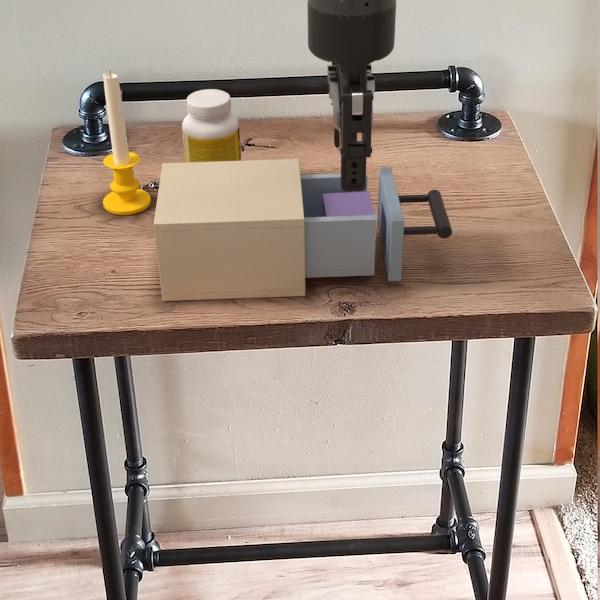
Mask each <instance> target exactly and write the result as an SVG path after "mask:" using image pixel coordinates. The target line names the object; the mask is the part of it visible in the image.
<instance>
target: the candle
mask: <svg viewBox="0 0 600 600" xmlns="http://www.w3.org/2000/svg"><path fill="white" fill-rule="evenodd" d="M102 76H103V88H104V96H105V104H106V112H107V119H108V128H109V135H110V142H111V150H112V153H111V154H108V155H106V156H105V157H104V159H103V161H102V163H103V165H104V167H106V168H109V169H112V177H113V180H112V181H111V182H110V184H109V188H110V192H109V193H107V194H106V195H105V197H104V198H103V200H102V205H103V209H104V210H105V211H106V212H108V213H110V214H113V215H116V216H131V215H135V214H138V213H142V212H144V211H145V210H147V209H148V208H149V207H150V205H151V202H152V197H151V194H150V193H149V192H148V191H146V190H144V189H142V188H140V187H141V183H140V180H139V179H137V178H135V172H134V169H133V167H135V166H136V165H138V164H139V163H140V161H141V158H140V155H138V154H137V153H136V152H132V151H130V150H129V144H128V136H127V129H126V127H127V126H126V121H125V114H124V107H123V100H122V99H123V98H122V91H121V85H120V81H119V76H118V75H117V74H116V73H112V72H111V69H109V72H106V73H103V74H102Z"/></svg>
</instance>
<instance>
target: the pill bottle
mask: <svg viewBox="0 0 600 600" xmlns="http://www.w3.org/2000/svg"><path fill="white" fill-rule="evenodd" d="M231 100H232V99H231V95H230V94H229V93H228V92H226V91H224V90H221V89H217V88H216V89H215V88H207V89H199V90H196V91H193V92H192V93H190V94H189V95H188V96H187V97H186V110H187V113H188V114H187V115H186V116H185V117H184V118H183V120H182V123H181V132H182V143H183V154H184V163H188V162H218V161H242V150H241V149H242V148H241V135H240V123H239V119H238V117H237V116H236V114H235V113H233V112H232V110H231V109H232V101H231Z"/></svg>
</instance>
